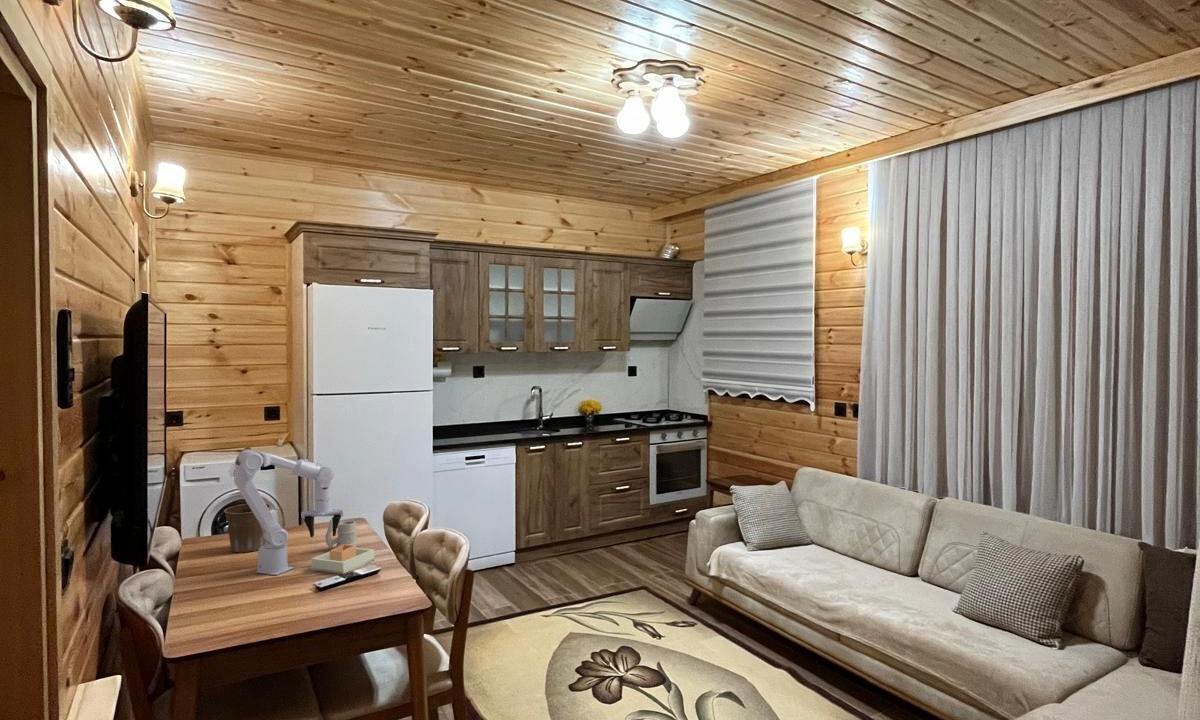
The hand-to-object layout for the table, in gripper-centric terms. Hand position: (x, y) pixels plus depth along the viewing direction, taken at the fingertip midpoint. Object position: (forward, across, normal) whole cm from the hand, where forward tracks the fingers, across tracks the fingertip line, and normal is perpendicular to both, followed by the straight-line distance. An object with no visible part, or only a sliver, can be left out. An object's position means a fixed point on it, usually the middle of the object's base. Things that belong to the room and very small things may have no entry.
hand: (323, 535), depth 248 cm
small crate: (+9, +8, -6) cm, 13 cm away
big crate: (+9, +8, -6) cm, 14 cm away
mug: (+10, +3, +16) cm, 19 cm away
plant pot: (+10, -33, +23) cm, 41 cm away
